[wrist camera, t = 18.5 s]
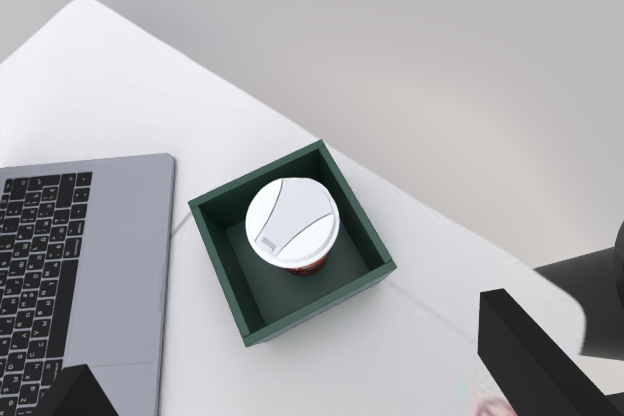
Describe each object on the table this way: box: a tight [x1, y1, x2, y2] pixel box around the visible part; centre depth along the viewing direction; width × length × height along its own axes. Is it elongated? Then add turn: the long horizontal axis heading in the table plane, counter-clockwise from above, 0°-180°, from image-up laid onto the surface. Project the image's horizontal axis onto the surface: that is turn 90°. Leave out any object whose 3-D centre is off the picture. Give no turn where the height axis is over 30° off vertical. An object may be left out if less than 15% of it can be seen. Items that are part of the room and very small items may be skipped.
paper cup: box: [246, 178, 339, 276], centre depth 33 cm, size 8×8×14 cm
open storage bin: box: [188, 139, 397, 347], centre depth 36 cm, size 15×15×10 cm
